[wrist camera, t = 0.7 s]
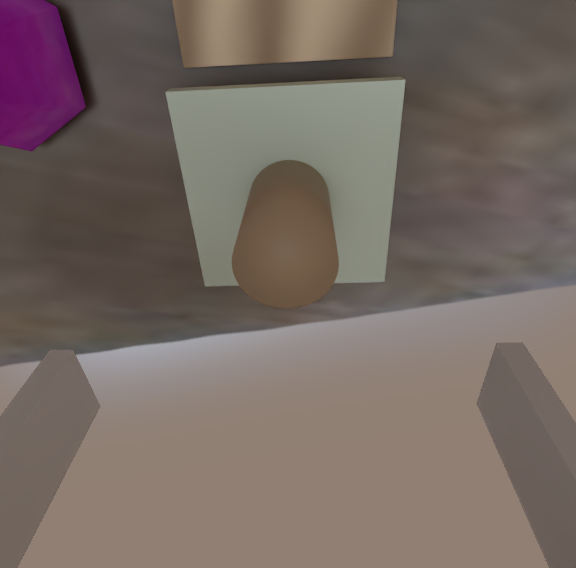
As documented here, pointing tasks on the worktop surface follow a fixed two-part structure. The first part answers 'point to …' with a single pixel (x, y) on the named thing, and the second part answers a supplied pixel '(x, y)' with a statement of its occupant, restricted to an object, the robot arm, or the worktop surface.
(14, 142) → the magenta low-poly plum
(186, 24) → the mat
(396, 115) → the lid
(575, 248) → the worktop surface
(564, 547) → the robot arm
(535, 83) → the worktop surface
